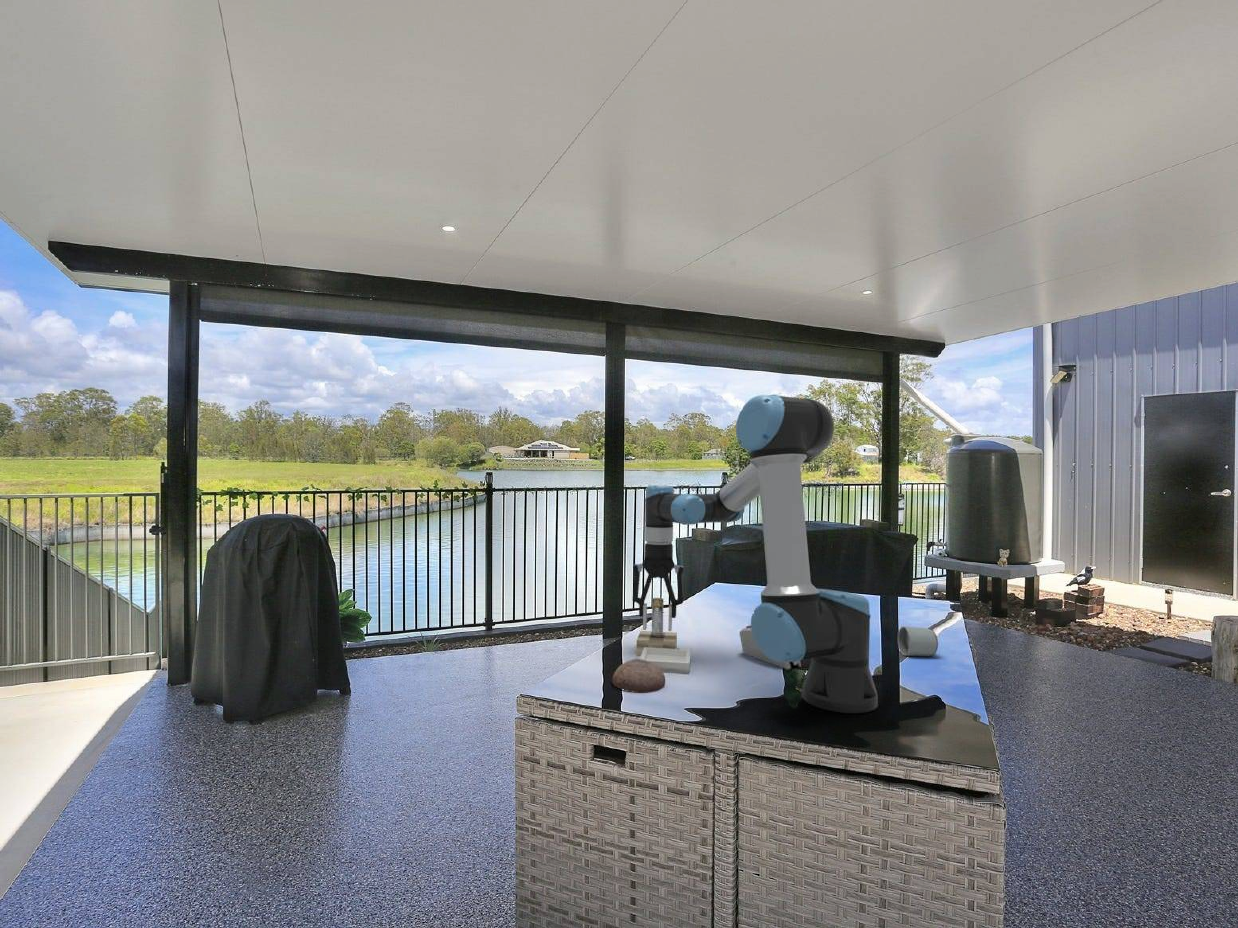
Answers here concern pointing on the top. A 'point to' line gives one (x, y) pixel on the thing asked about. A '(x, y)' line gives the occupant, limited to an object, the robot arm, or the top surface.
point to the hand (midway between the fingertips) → (657, 629)
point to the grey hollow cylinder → (917, 641)
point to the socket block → (656, 641)
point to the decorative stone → (638, 676)
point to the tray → (668, 659)
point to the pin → (657, 618)
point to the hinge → (754, 651)
